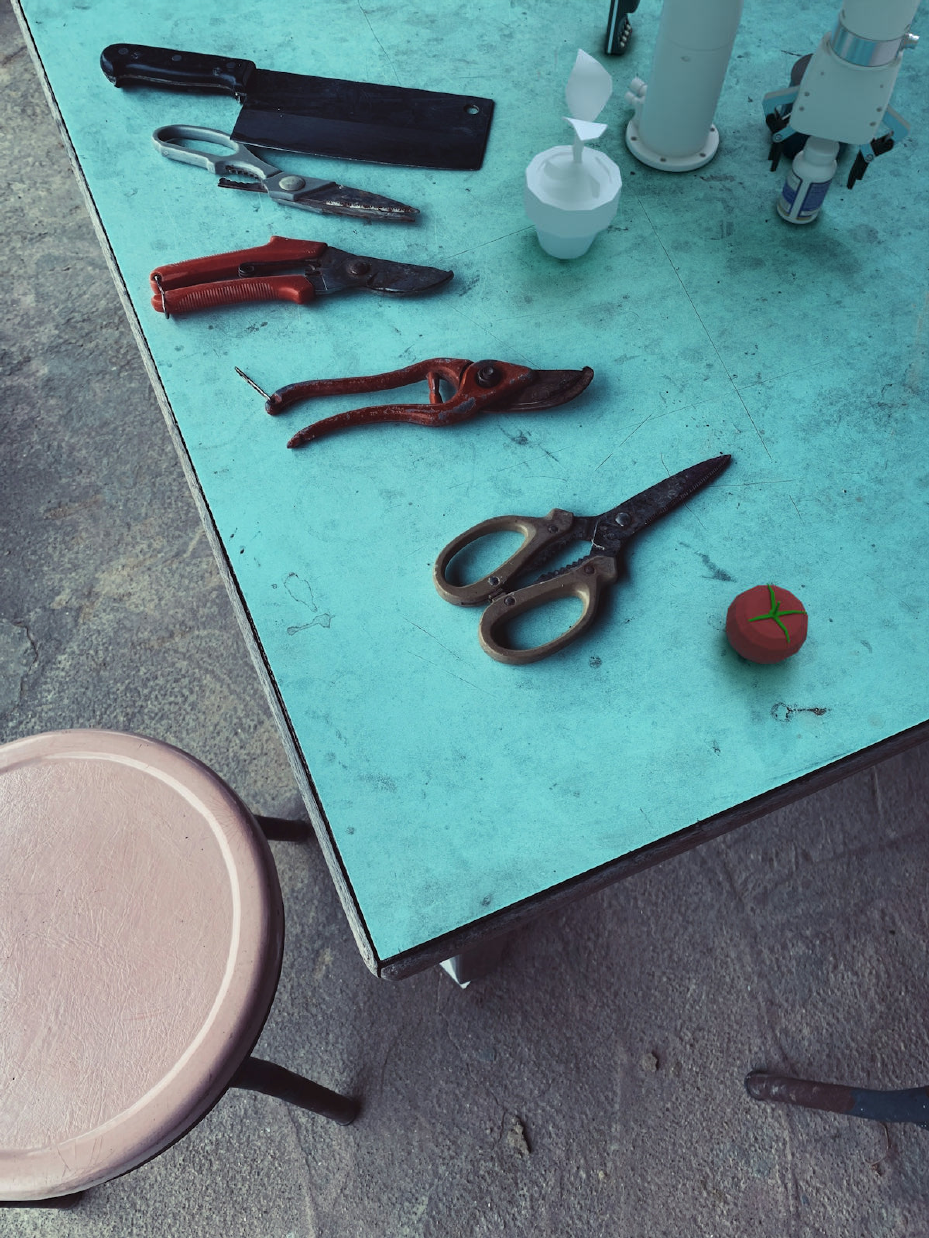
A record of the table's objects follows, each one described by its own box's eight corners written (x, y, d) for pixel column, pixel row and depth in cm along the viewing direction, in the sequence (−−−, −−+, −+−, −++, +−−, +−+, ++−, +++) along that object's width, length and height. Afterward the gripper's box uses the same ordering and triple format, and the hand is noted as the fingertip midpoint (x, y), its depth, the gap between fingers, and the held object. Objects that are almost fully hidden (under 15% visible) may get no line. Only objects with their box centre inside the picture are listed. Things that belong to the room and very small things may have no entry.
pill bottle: (821, 204, 122) (850, 137, 113) (810, 230, 120) (839, 164, 111) (782, 192, 123) (807, 124, 114) (770, 217, 121) (795, 151, 112)
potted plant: (527, 205, 121) (544, 8, 99) (615, 218, 120) (652, 23, 98) (509, 274, 116) (523, 82, 93) (601, 289, 115) (638, 99, 92)
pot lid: (771, 82, 121) (782, 47, 117) (824, 49, 124) (837, 14, 120) (836, 124, 117) (850, 90, 113) (889, 89, 120) (905, 54, 116)
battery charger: (627, 59, 135) (642, -24, 125) (602, 54, 135) (614, -29, 125) (637, 31, 138) (653, -52, 128) (613, 26, 138) (626, -57, 128)
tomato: (788, 604, 96) (814, 568, 89) (801, 673, 92) (830, 642, 86) (711, 605, 96) (731, 569, 89) (722, 674, 92) (744, 643, 85)
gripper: (950, 33, 102) (884, 169, 117) (793, 2, 104) (749, 140, 119) (944, 74, 98) (877, 209, 114) (782, 41, 101) (738, 177, 116)
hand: (811, 173), depth 116 cm, fingers open, 9 cm apart
